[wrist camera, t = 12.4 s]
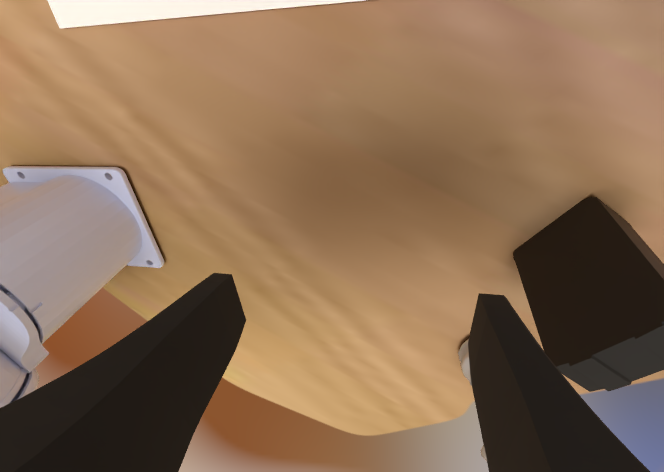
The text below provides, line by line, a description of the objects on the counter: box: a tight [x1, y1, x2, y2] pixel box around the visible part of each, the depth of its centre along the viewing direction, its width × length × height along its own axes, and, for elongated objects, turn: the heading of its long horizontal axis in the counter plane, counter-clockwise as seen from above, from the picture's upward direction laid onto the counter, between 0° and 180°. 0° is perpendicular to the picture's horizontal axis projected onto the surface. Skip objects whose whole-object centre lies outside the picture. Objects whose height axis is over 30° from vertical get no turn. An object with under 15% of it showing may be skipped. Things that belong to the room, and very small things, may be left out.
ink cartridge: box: [513, 197, 664, 392], centre depth 16 cm, size 5×2×8 cm, turn 148°
